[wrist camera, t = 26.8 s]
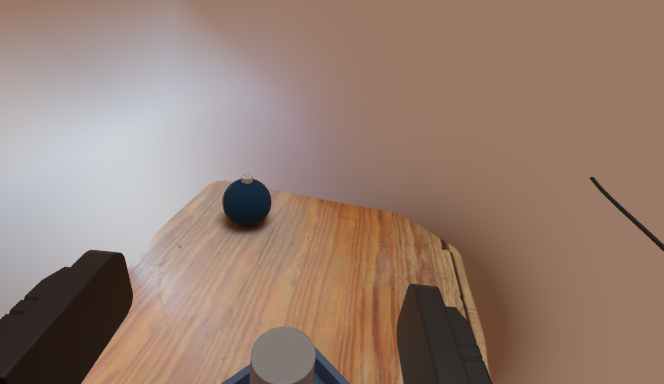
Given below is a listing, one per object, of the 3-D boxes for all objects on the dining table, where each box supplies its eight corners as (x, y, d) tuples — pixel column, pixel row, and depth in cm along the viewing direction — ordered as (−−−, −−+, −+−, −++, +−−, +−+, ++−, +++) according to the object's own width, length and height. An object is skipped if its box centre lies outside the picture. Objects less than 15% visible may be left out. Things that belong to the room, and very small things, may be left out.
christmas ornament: (239, 204, 68) (238, 158, 63) (278, 216, 66) (280, 169, 61) (213, 226, 61) (210, 176, 56) (256, 240, 59) (256, 189, 54)
